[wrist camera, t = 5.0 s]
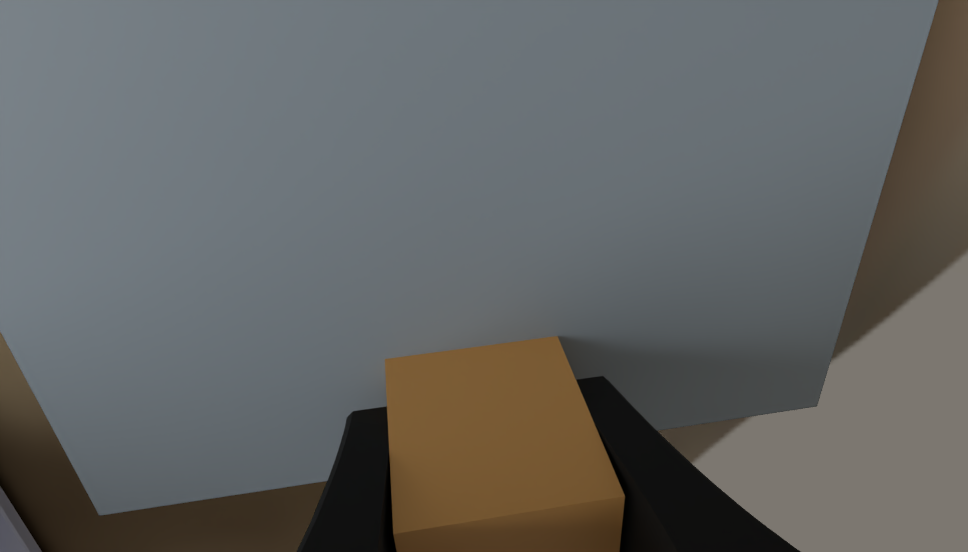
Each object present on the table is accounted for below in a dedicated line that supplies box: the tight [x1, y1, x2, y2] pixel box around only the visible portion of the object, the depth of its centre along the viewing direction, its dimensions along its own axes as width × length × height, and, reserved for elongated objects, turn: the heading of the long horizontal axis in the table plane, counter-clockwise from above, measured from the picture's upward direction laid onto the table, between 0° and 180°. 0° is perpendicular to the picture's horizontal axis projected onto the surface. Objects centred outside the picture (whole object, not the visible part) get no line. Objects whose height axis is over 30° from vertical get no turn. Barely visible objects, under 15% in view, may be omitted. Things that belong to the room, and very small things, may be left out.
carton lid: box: [0, 0, 938, 552], centre depth 8 cm, size 14×12×4 cm
